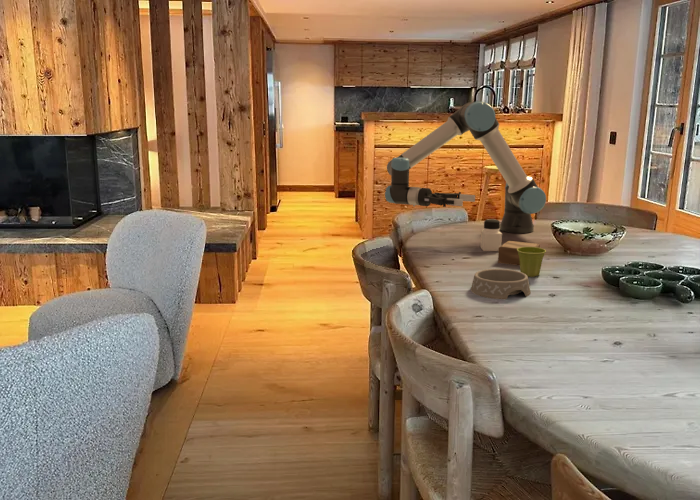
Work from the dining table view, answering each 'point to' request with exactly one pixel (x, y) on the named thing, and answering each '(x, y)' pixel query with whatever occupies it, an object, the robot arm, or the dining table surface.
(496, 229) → the medicine bottle
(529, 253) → the plant pot
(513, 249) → the walnut box
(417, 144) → the robot arm
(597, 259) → the dining table surface
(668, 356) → the dining table surface
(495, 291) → the dog bowl
